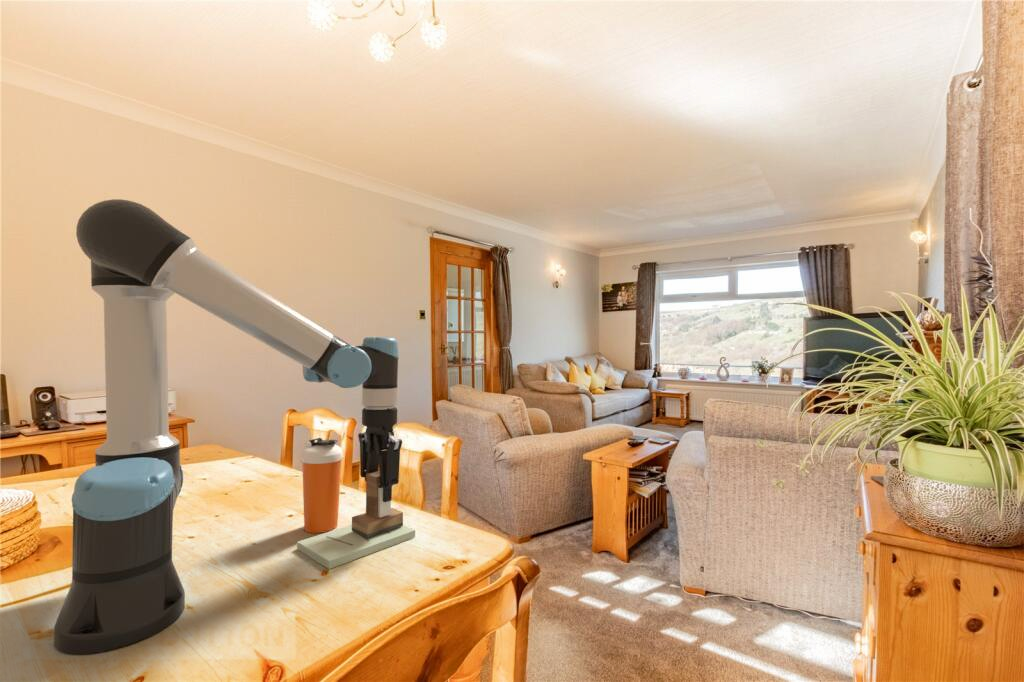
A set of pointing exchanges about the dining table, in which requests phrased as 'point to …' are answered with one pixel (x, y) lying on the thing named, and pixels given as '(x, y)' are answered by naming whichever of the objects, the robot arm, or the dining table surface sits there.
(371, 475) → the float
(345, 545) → the board
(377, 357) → the robot arm
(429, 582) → the dining table surface
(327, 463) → the shaker bottle
